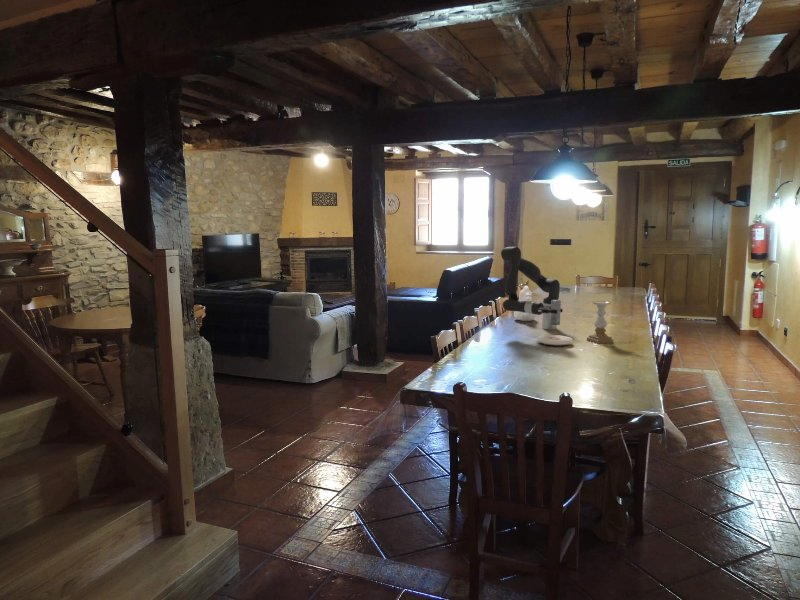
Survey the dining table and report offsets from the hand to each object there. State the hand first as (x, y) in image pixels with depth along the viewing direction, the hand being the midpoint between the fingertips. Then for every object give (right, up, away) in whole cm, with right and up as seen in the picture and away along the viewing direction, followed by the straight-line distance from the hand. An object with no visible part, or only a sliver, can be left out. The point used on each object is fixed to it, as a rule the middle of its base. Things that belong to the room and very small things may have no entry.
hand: (559, 311), depth 325 cm
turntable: (-2, -18, +4) cm, 18 cm away
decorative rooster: (-4, -9, +76) cm, 76 cm away
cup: (-2, -8, +3) cm, 8 cm away
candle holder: (+27, -19, +10) cm, 34 cm away
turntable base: (-2, -19, +5) cm, 20 cm away
